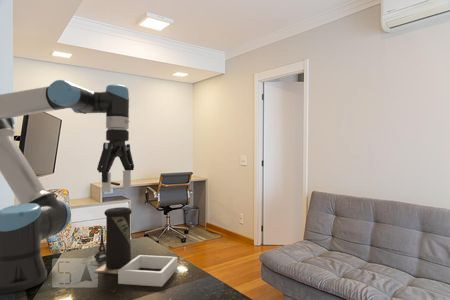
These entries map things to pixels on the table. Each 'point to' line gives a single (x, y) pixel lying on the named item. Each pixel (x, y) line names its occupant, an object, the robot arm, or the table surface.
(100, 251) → the eiffel tower figurine
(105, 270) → the cork mat
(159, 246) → the table surface
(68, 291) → the table surface
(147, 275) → the frame
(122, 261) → the container
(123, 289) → the table surface
